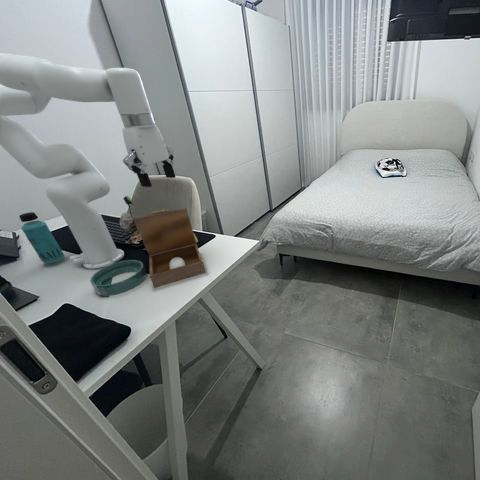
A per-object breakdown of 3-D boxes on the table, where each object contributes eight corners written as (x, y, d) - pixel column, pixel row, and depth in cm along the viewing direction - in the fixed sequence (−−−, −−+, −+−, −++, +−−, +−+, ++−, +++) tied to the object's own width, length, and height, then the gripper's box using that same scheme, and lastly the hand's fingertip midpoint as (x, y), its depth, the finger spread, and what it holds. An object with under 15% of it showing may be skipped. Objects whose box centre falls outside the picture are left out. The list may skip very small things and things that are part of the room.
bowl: (93, 303, 78) (86, 291, 76) (99, 278, 89) (94, 268, 86) (147, 287, 84) (142, 276, 82) (147, 266, 95) (143, 255, 93)
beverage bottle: (53, 258, 101) (24, 210, 91) (71, 257, 101) (44, 209, 91) (39, 267, 95) (6, 218, 85) (58, 266, 95) (27, 217, 86)
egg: (188, 274, 89) (184, 262, 86) (172, 278, 87) (168, 267, 84) (185, 264, 94) (182, 253, 92) (171, 268, 92) (167, 257, 90)
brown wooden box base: (206, 274, 90) (202, 261, 87) (155, 289, 83) (149, 276, 80) (199, 255, 101) (196, 243, 98) (154, 267, 94) (149, 255, 91)
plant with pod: (139, 233, 118) (123, 191, 109) (152, 239, 113) (135, 195, 103) (120, 240, 112) (100, 196, 103) (132, 247, 107) (112, 202, 97)
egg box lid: (186, 209, 88) (184, 201, 91) (132, 219, 81) (132, 211, 84) (196, 243, 98) (193, 235, 101) (149, 254, 91) (147, 246, 94)
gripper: (152, 119, 80) (169, 174, 88) (98, 124, 65) (125, 190, 74) (172, 118, 78) (188, 174, 86) (121, 124, 64) (146, 191, 72)
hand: (159, 181), depth 80 cm, fingers open, 9 cm apart
